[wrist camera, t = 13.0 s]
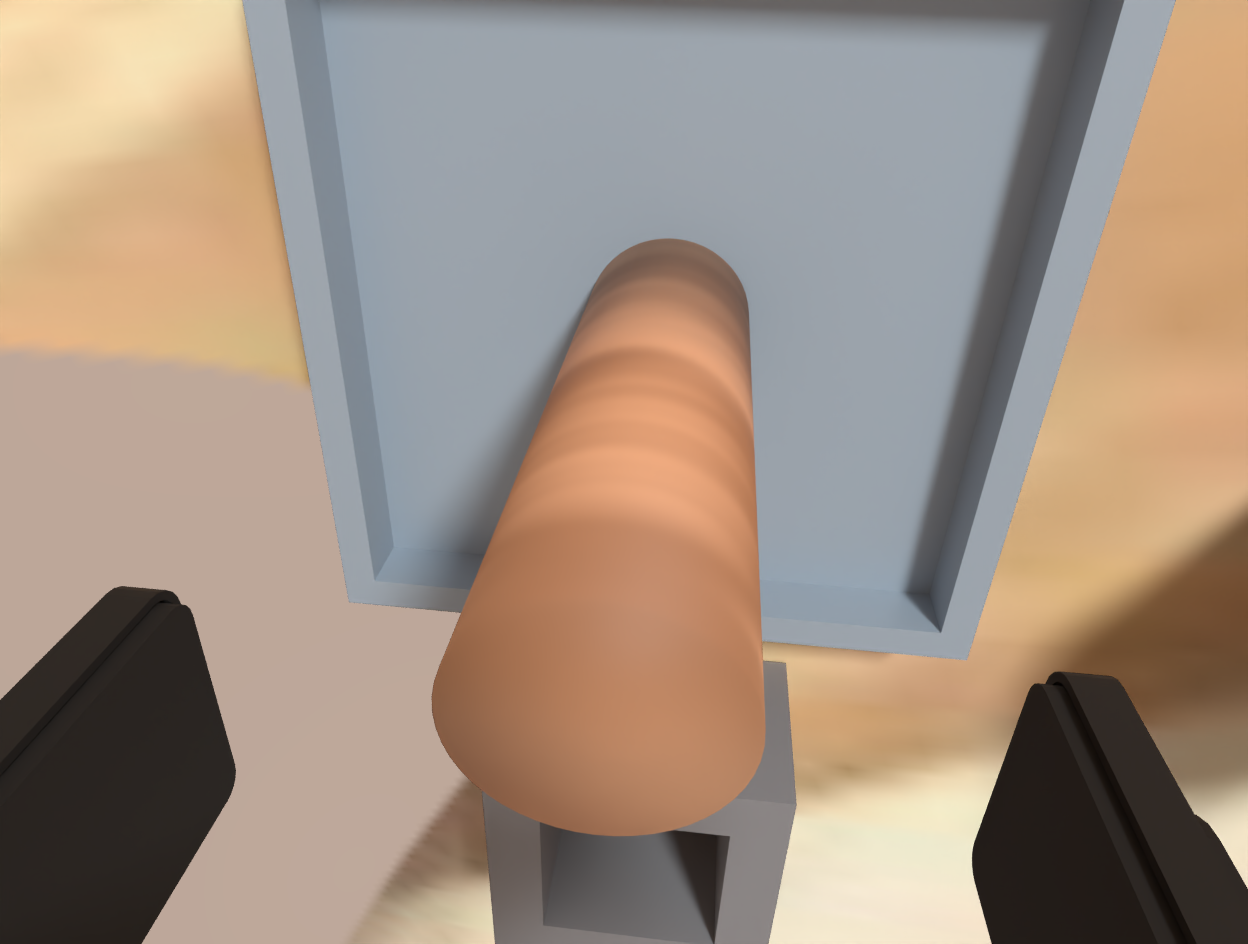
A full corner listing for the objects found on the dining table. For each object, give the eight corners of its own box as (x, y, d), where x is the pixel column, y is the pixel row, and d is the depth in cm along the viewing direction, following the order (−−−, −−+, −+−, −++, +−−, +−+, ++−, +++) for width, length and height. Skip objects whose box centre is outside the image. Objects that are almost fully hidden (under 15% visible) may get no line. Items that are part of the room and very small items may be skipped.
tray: (946, 596, 24) (966, 660, 22) (381, 546, 25) (348, 602, 23) (1144, -98, 16) (1209, -106, 13) (283, -122, 17) (218, -132, 15)
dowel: (740, 395, 20) (747, 851, 10) (588, 384, 21) (446, 817, 10) (757, 243, 18) (785, 616, 8) (589, 233, 19) (415, 582, 8)
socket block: (756, 834, 30) (760, 981, 26) (528, 809, 30) (495, 948, 26) (785, 663, 26) (796, 804, 21) (520, 637, 26) (480, 770, 22)
